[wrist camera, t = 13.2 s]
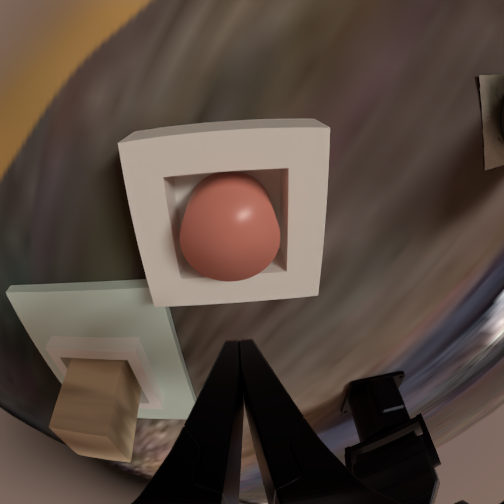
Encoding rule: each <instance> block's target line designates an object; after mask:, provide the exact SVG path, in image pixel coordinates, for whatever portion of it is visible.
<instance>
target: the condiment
mask: <svg viewBox="0 0 504 504" xmlns="http://www.w3.org/2000/svg"><path fill="white" fill-rule="evenodd" d="M479 80H480V94H481V104H482V121H483V137H484V157H485V170H488V169H492V168H495V167H499V166H503V165H504V74H495V75H479ZM498 137H499V138H500V139H501V140H503V143H502V142H501V141H499V140H498Z"/></svg>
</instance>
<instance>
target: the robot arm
mask: <svg viewBox="0 0 504 504" xmlns="http://www.w3.org/2000/svg"><path fill="white" fill-rule="evenodd" d="M404 377H405V374H404V372H403V371H401V372H396V373H392V374H388V375H383V376H378V377H374V378H369V379H364V380H359V381H354V382H352V383H351V384H350V385H349V388H348V391H347V394H346V397H345V400H344V402H343V405H342V408H341V413H342V414H347V413H352V416H353V419H354V422H355V426H356V429H357V433H358V436H359V439H360V443H358V444H356V445H354V446H351V447H350V446H349V447H347V448H345V463H346V466H345V465H344V464H343V463H342V462H341V461H340V460H339V459H338V458H337V457H336V456H335V455H334V454H333V453H332V452H331V451H330V450H329V449H328V448H327V446H326V445H325V444H324V443H323V442H322V441H321V440H320V438H319V437H318V436H317V434H316V433H315V432H314V430H313V429H312V428H311V426H310V425H309V423H308V422H307V421H306V419H305V418H303V415H302V413H301V412H300V410H299V409H298V408H297V406H296V405H295V403H294V402H293V400H292V399H291V397H290V396H289V394H288V393H287V391H286V390H285V388H284V387H283V385H282V384H281V382H280V381H279V379H278V378H277V376H276V374H275V373H274V371H273V370H272V368H271V367H270V365H269V364H268V362H267V361H266V359H265V358H264V356H263V354H262V353H261V351H260V350H259V348H258V347H257V345H256V344H255V342H254V340H253V339H240V340H239V341H238V340H226V341H225V342H224V344H223V346H222V348H221V350H220V352H219V354H218V356H217V358H216V360H215V363H214V365H213V367H212V369H211V371H210V373H209V375H208V377H207V379H206V381H205V383H204V385H203V387H202V389H201V391H200V393H199V396H198V398H197V400H196V402H195V404H194V406H193V408H192V410H191V412H190V414H189V416H188V418H187V420H186V422H185V424H184V425H185V426H184V427H183V428H182V430H181V432H180V434H179V436H178V438H177V440H176V442H175V443H174V445H173V447H172V449H171V451H170V452H169V454H168V455H167V457H166V458H165V460H164V462H163V463H162V464H161V466H160V467H159V469H158V470H157V472H156V473H155V474H154V476H153V477H152V479H151V480H150V482H149V483H148V484H147V486H146V487H145V489H144V490H143V491H142V493H141V494H140V495H139V496H138V497H137V499H136V500H135V501H134V502H133V503H131V504H238V503H239V487H240V469H241V451H242V433H243V416H244V404H245V409H246V414H247V418H248V423H249V427H250V431H251V436H252V440H253V444H254V448H255V452H256V457H257V461H258V465H259V469H260V473H261V477H262V481H263V485H264V489H265V493H266V497H267V500H268V504H434V503H435V499H436V496H437V492H438V489H439V485H440V482H439V478H438V475H437V473H436V470H435V467H437V466H439V465H441V462H440V460H439V457H438V454H437V452H436V449H435V447H434V444H433V442H432V439H431V437H430V434H429V432H428V429H427V427H426V424H425V422H424V420H423V417H422V415H421V413H420V414H418V415H416V417H414V418H412V419H410V417H409V414H408V412H407V410H406V407H405V404H404V401H403V399H402V396H401V394H400V392H399V389H398V388H399V386H400V384H401V382H402V381H403V379H404ZM243 395H244V396H243ZM421 432H423V434H422V435H419V436H417V434H419V433H421ZM455 504H468V503H467V502H465V501H464V500H462V501H459V502H457V503H455ZM499 504H504V501H502V502H501V503H499Z"/></svg>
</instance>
